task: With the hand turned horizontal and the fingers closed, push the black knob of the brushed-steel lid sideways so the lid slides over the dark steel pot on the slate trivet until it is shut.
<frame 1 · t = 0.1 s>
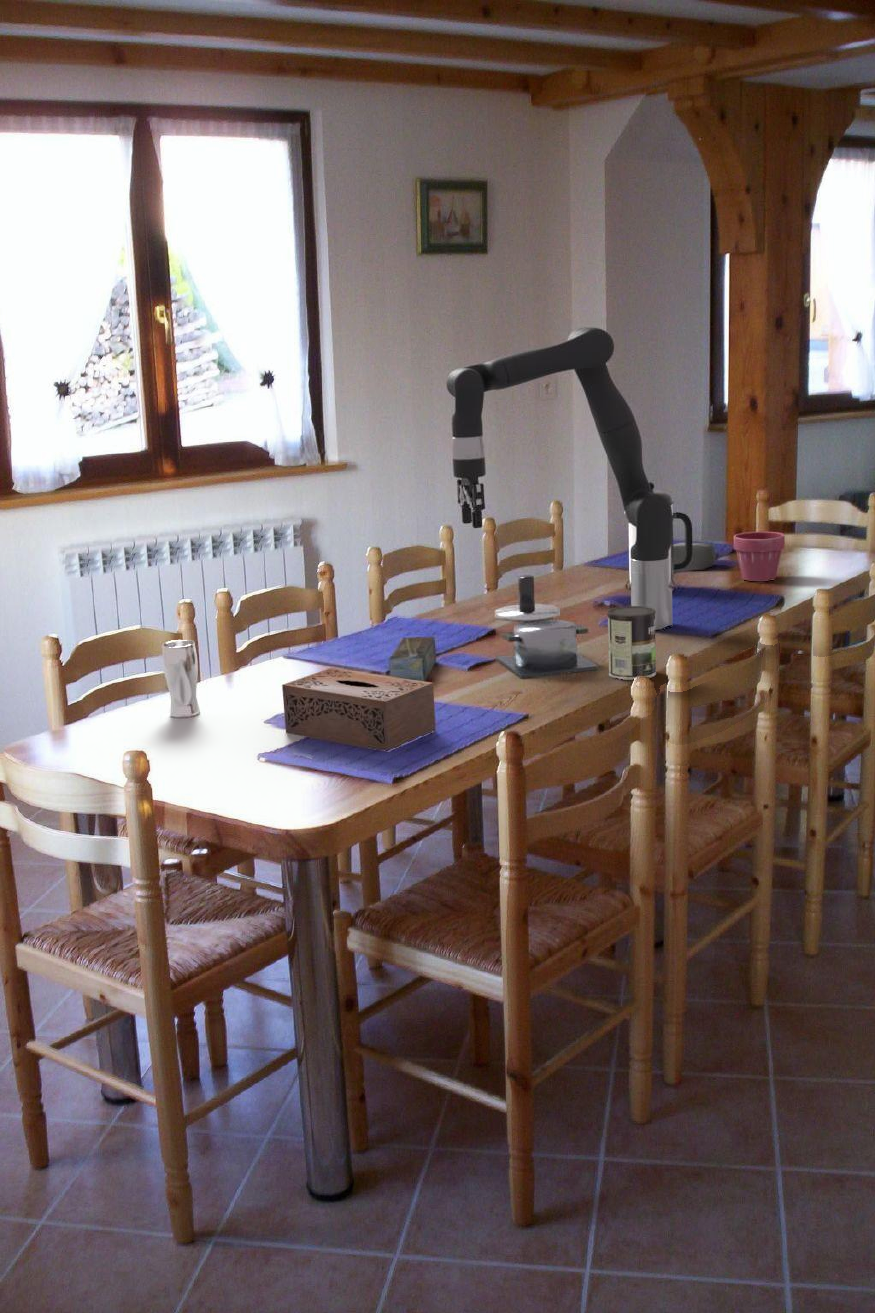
hand: (472, 525, 324), 29 cm above the table, tool pointing down, fingers open, 8 cm apart
coffee press: (654, 589, 386), on the table
pot: (546, 664, 310), on the table
coffee can: (632, 675, 299), on the table
tissue box cover: (360, 734, 267), on the table
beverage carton: (414, 674, 310), on the table
crushed soda can: (185, 714, 286), on the table
lid: (526, 595, 318), point 14 cm above the table, slide at 12.0 cm
plant pot: (758, 580, 392), on the table
grey dish: (685, 568, 415), on the table
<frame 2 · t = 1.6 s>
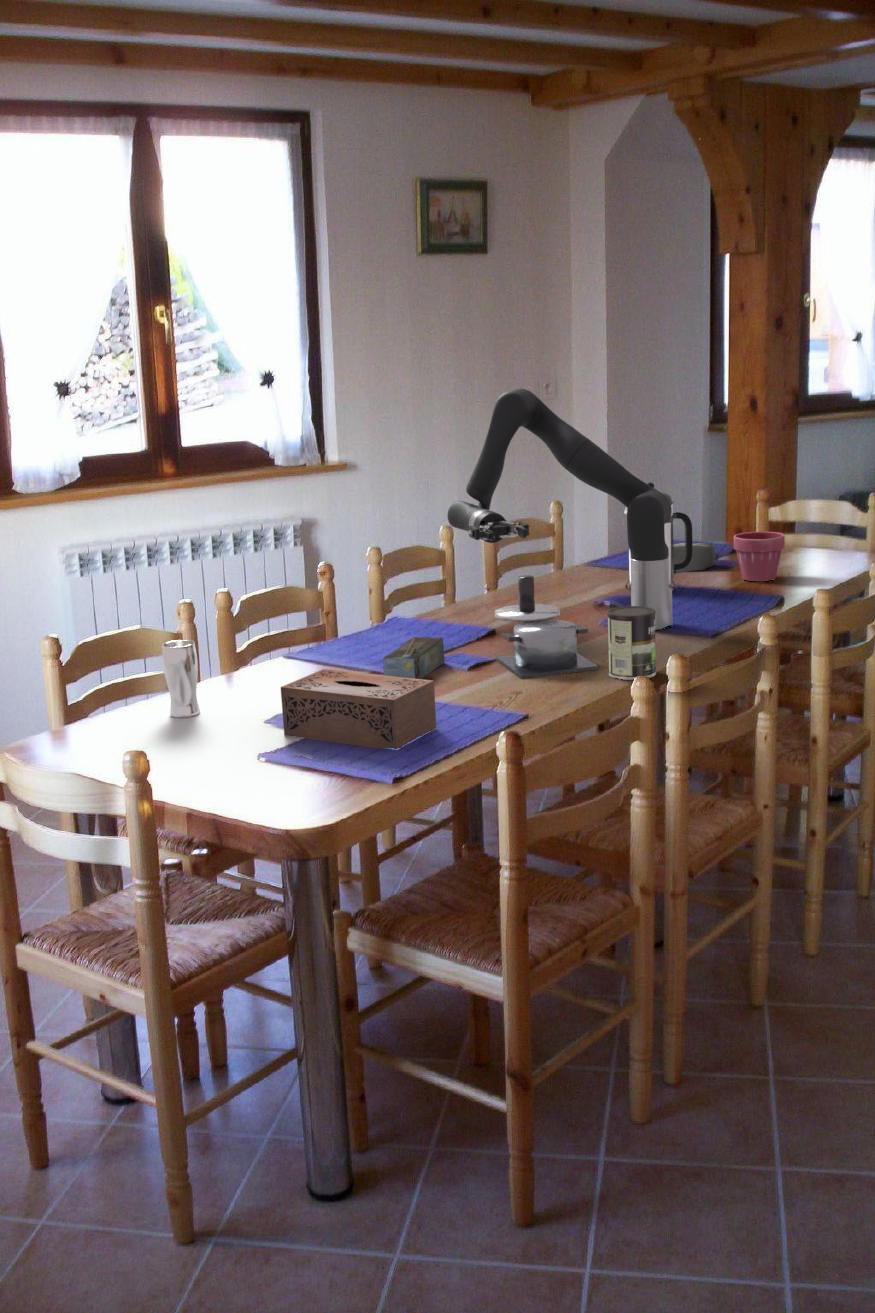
hand: (508, 535, 326), 26 cm above the table, tool horizontal, fingers open, 7 cm apart
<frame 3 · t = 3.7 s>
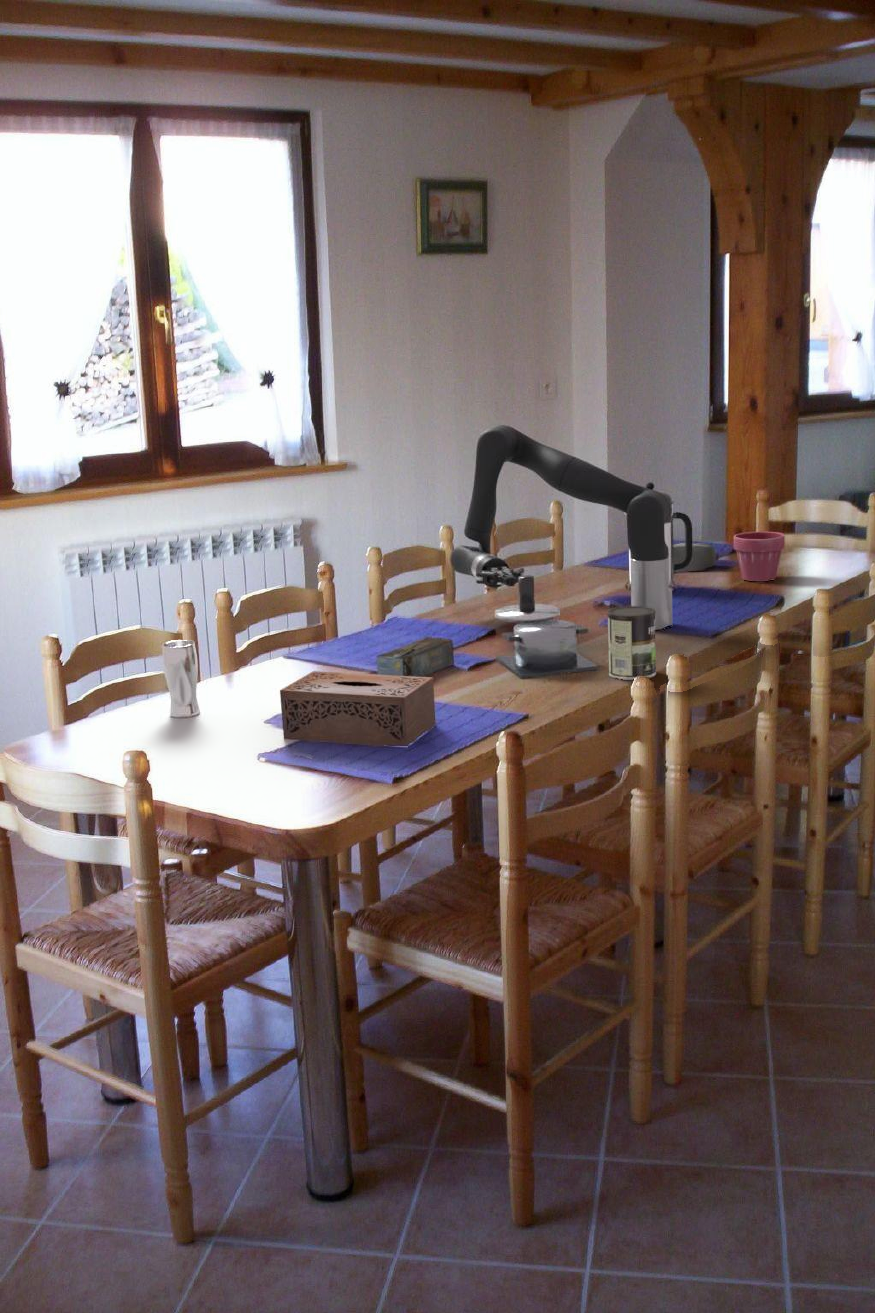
hand: (511, 581, 328), 15 cm above the table, tool horizontal, fingers closed
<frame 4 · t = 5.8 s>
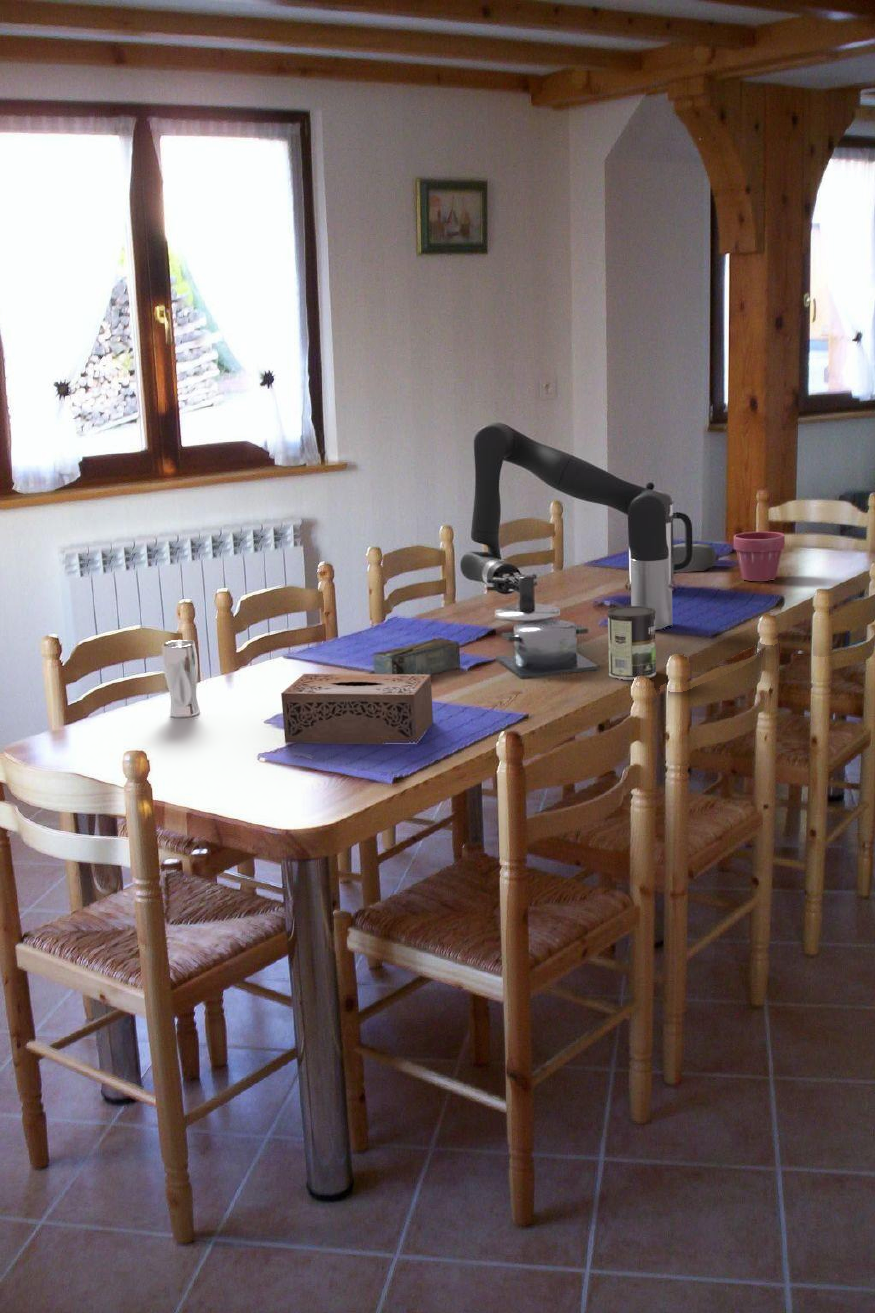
hand: (523, 588, 320), 15 cm above the table, tool horizontal, fingers closed
lid: (526, 595, 318), point 14 cm above the table, slide at 12.0 cm, touching gripper
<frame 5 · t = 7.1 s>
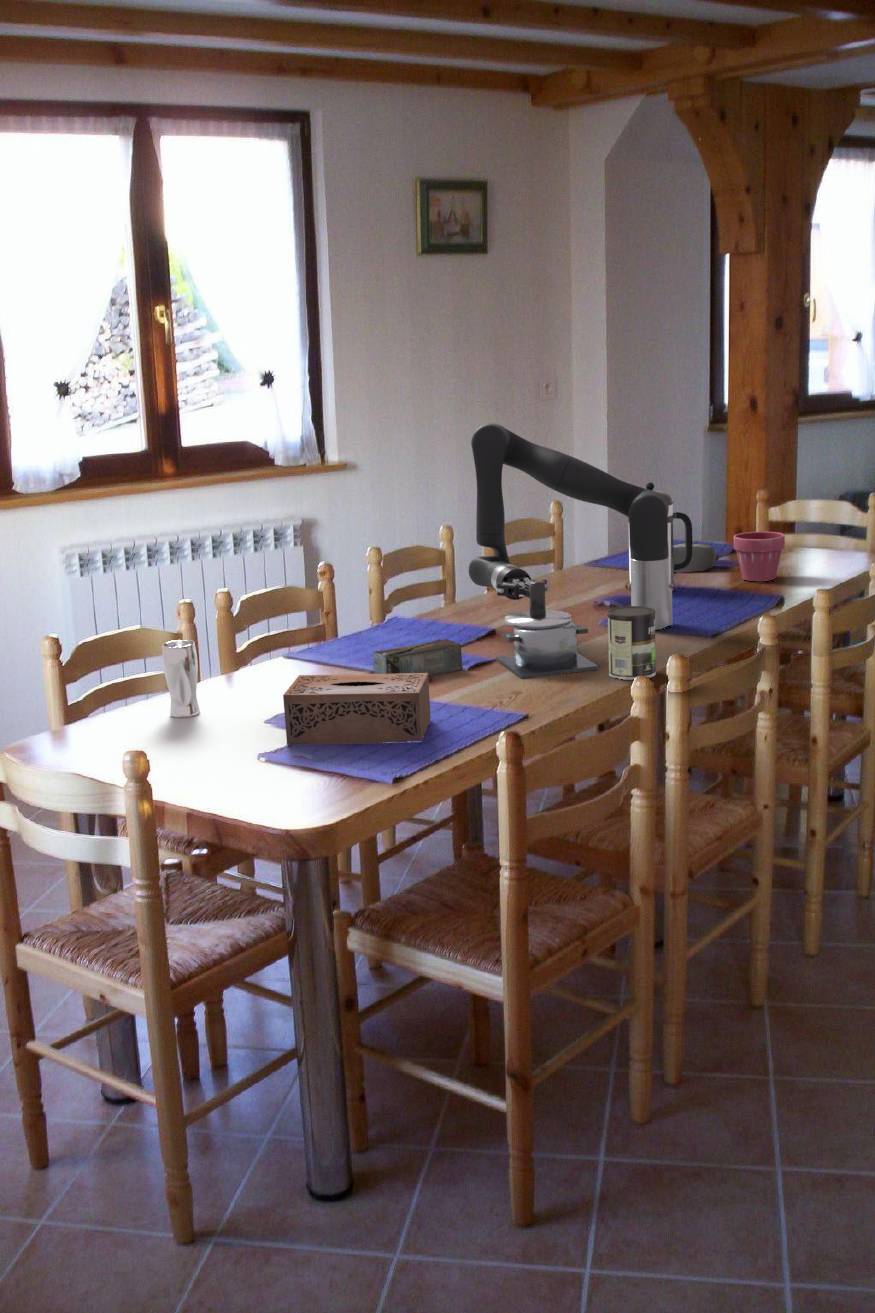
hand: (534, 594, 313), 15 cm above the table, tool horizontal, fingers closed
lid: (537, 601, 311), point 14 cm above the table, slide at 4.5 cm, touching gripper
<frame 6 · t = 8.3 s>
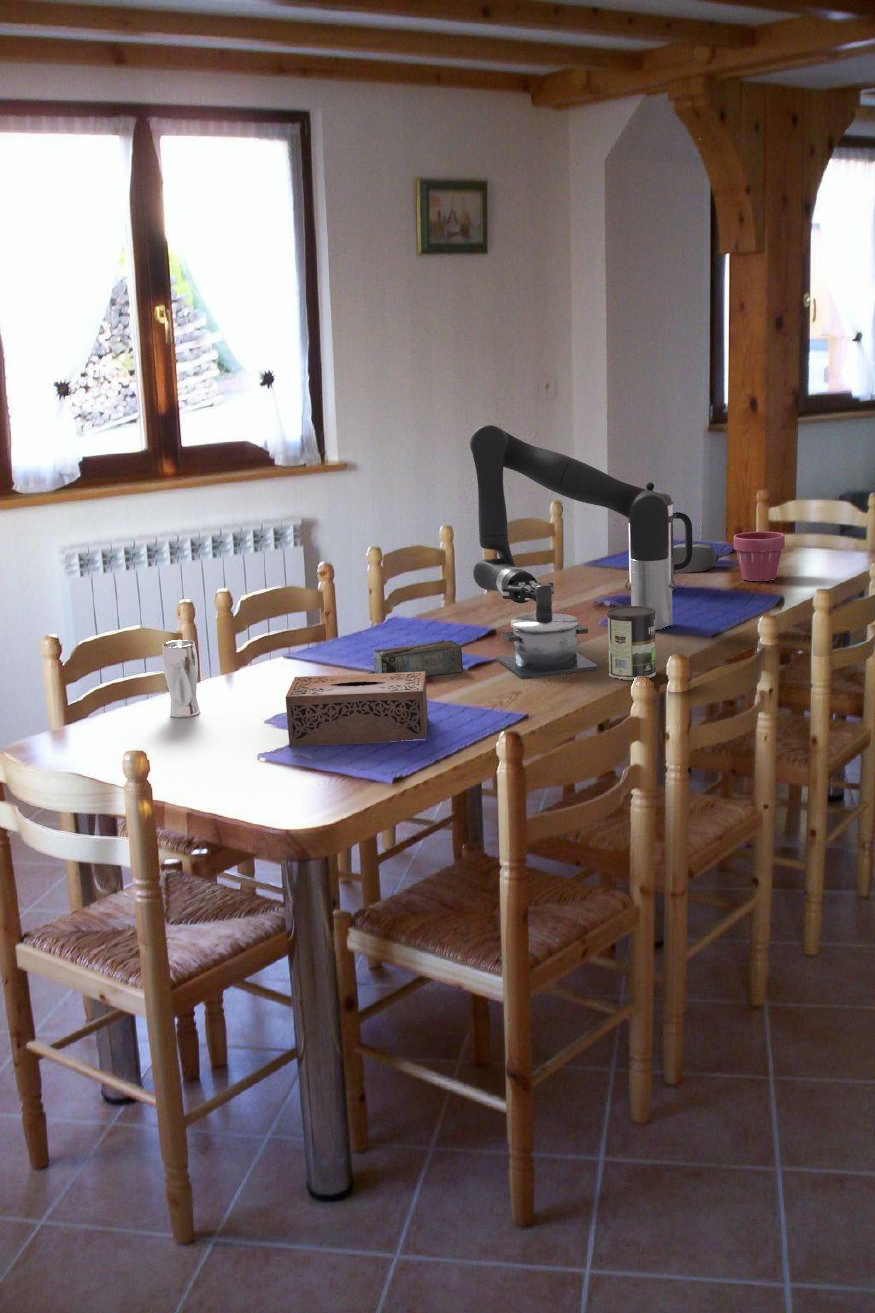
hand: (540, 597, 309), 15 cm above the table, tool horizontal, fingers closed
lid: (543, 605, 307), point 14 cm above the table, slide at 0.3 cm, touching gripper
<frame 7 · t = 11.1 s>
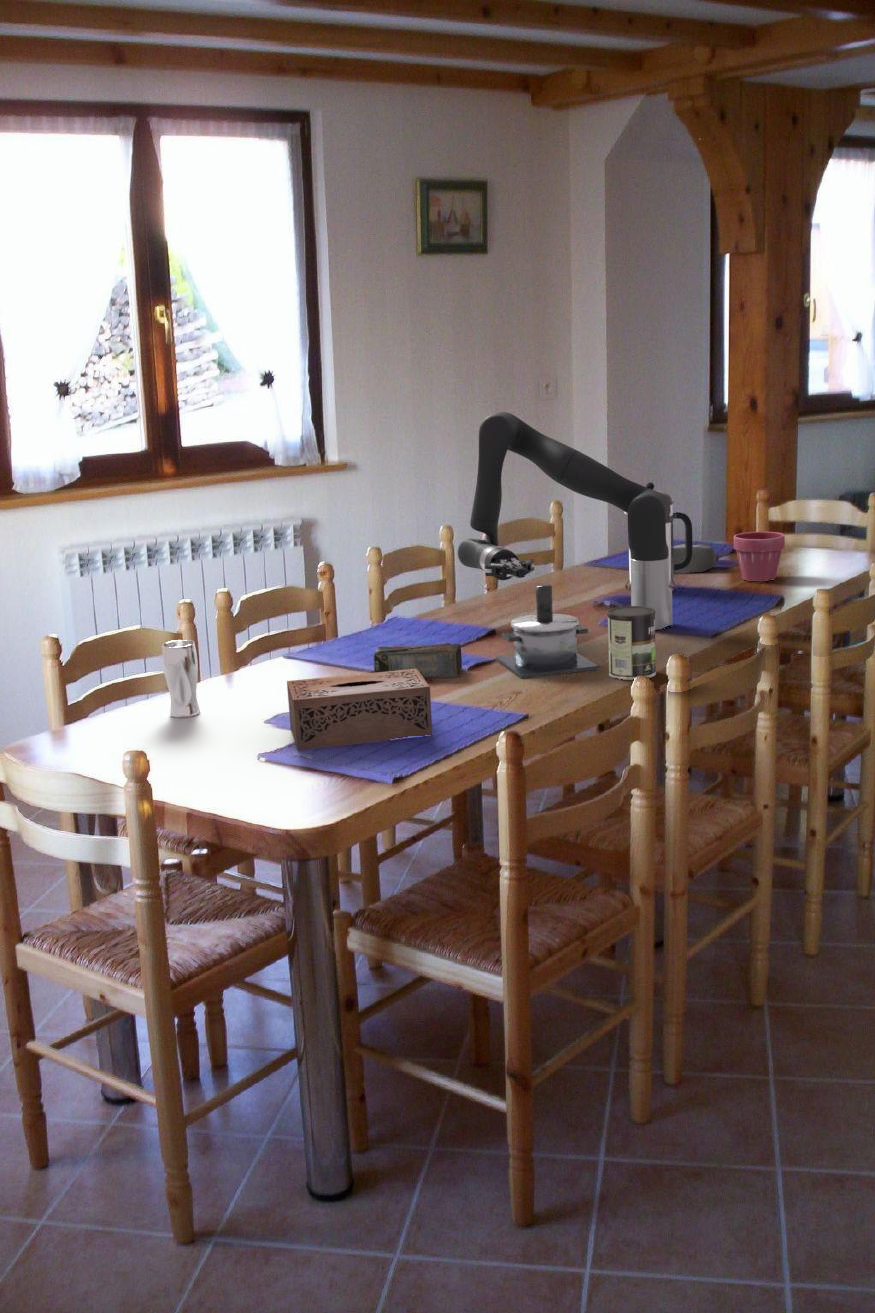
hand: (521, 573, 321), 18 cm above the table, tool horizontal, fingers closed
lid: (544, 605, 307), point 14 cm above the table, slide at 0.0 cm
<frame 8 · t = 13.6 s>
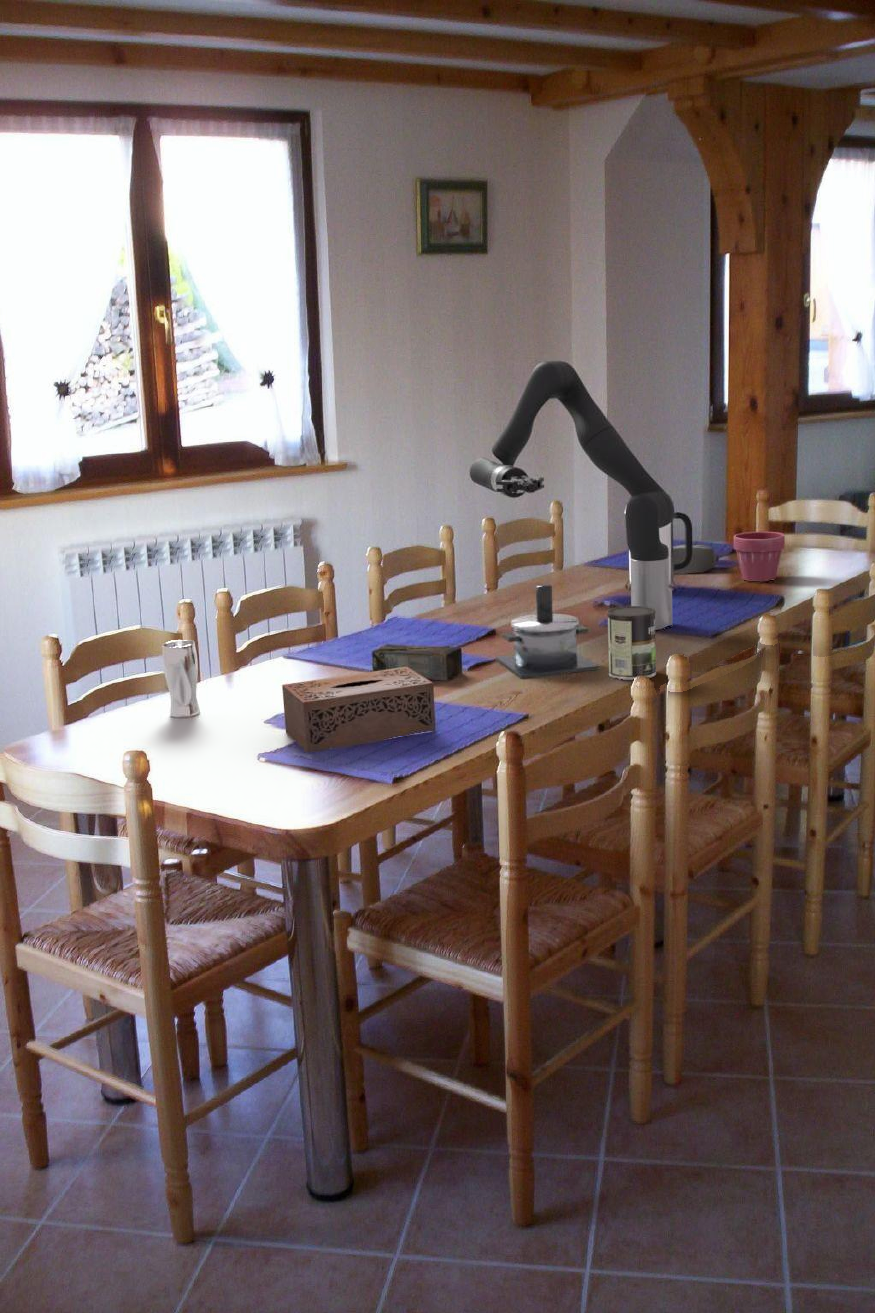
hand: (532, 488, 331), 36 cm above the table, tool horizontal, fingers closed
at the end: lid slide at 0.0 cm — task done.
